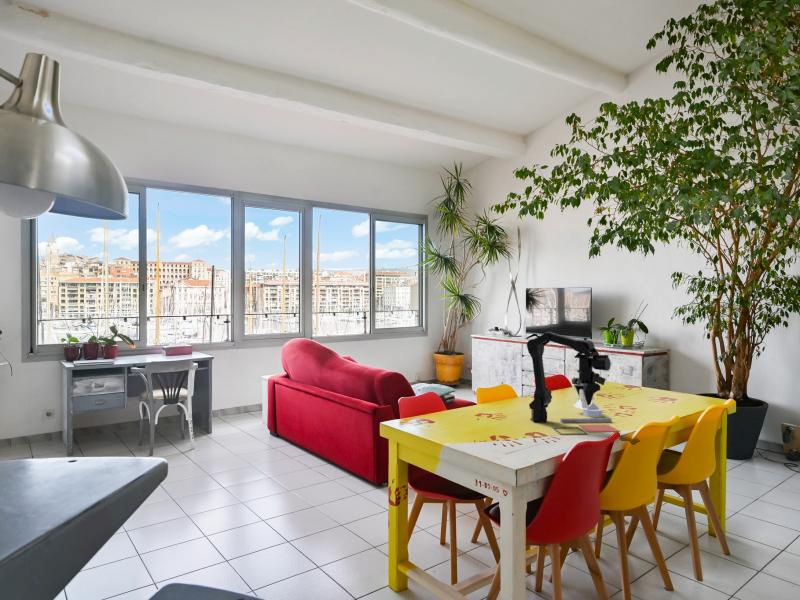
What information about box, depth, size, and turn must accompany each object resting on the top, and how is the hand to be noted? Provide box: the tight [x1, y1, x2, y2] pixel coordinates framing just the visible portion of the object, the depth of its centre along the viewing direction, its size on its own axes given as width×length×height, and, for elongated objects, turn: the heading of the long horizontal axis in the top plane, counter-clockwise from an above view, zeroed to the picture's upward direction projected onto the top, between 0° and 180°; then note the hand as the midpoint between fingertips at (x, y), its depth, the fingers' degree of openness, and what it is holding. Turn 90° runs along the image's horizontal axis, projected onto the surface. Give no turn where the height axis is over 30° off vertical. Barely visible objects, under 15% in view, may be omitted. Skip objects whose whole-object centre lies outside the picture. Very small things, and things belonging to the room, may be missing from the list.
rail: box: [560, 417, 612, 424], centre depth 251 cm, size 24×2×2 cm, turn 93°
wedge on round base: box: [573, 399, 603, 418], centre depth 266 cm, size 9×7×13 cm
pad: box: [578, 423, 621, 433], centre depth 239 cm, size 14×12×1 cm
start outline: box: [551, 426, 589, 436], centre depth 234 cm, size 12×11×1 cm
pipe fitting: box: [576, 389, 595, 409], centre depth 236 cm, size 6×7×8 cm
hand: (585, 403), depth 236 cm, fingers closed on pipe fitting, 7 cm apart
